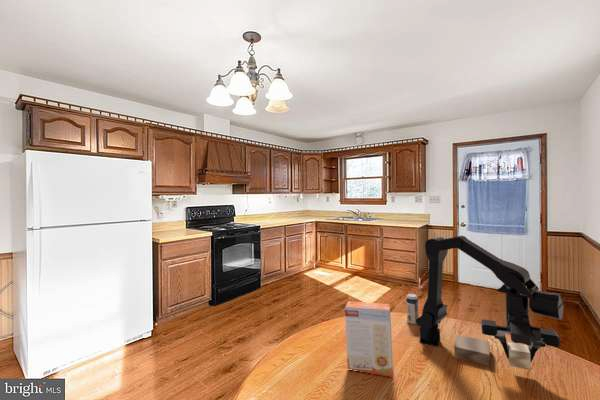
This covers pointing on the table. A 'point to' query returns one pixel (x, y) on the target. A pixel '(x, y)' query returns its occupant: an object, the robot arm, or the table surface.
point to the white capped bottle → (412, 308)
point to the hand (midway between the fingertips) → (518, 360)
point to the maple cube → (519, 356)
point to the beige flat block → (472, 349)
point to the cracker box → (369, 338)
